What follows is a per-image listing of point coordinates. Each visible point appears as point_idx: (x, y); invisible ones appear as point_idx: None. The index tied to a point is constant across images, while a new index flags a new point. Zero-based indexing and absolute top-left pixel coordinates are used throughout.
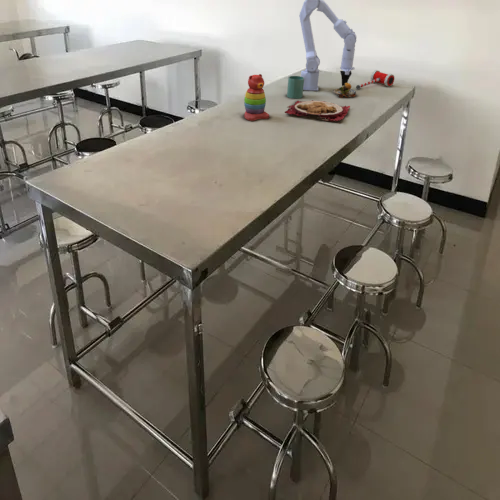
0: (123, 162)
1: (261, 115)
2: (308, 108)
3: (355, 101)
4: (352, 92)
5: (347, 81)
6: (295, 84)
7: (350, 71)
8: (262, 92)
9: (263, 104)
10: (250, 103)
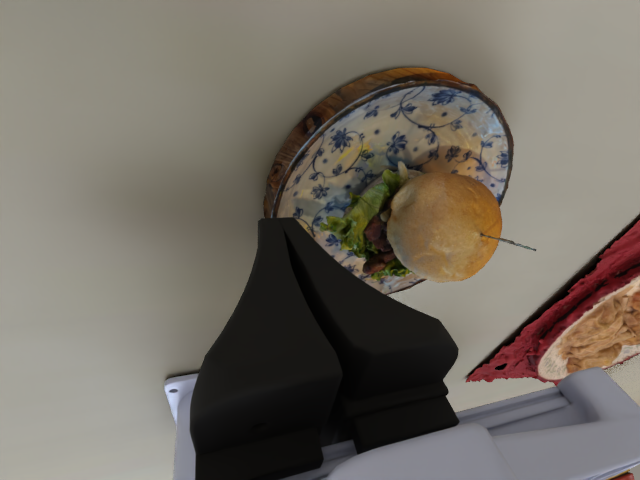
0: None
1: None
2: (621, 345)
3: (594, 108)
4: (382, 113)
5: (325, 254)
6: None
7: (301, 394)
8: (632, 474)
9: None
10: None
